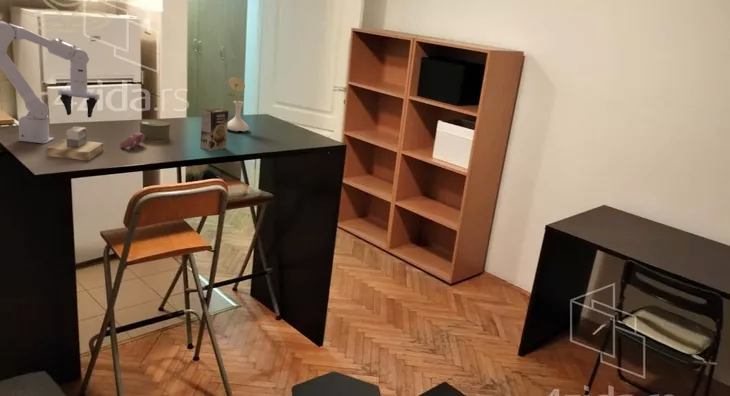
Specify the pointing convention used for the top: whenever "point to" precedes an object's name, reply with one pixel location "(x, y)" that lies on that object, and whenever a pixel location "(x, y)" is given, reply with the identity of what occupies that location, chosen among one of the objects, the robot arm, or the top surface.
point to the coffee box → (214, 129)
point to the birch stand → (75, 150)
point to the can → (155, 129)
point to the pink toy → (133, 140)
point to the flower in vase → (237, 107)
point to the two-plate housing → (76, 137)
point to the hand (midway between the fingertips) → (79, 115)
